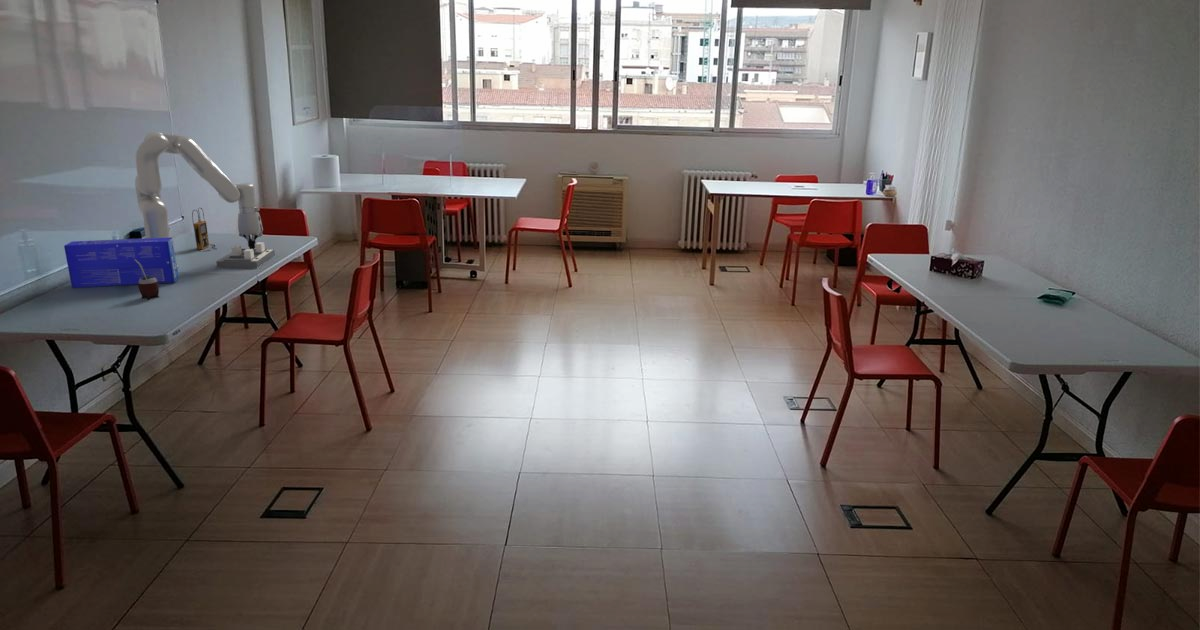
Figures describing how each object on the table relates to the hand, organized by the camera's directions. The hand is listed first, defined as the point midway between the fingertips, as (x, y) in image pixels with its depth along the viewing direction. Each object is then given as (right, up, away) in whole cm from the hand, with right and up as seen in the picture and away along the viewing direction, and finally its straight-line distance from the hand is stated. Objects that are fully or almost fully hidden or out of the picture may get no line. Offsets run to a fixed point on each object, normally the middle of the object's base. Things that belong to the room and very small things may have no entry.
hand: (252, 248), depth 386 cm
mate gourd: (-14, -25, -62) cm, 69 cm away
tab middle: (-4, -3, -7) cm, 9 cm away
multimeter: (-29, +1, +18) cm, 34 cm away
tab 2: (+4, -1, +1) cm, 4 cm away
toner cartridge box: (-34, -19, -43) cm, 59 cm away
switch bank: (0, -7, -5) cm, 8 cm away
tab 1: (+4, -6, -13) cm, 15 cm away
